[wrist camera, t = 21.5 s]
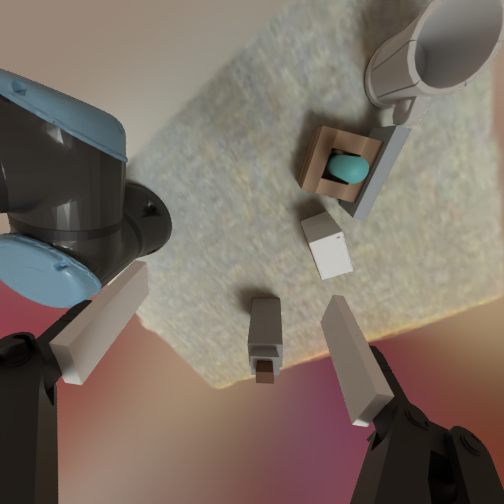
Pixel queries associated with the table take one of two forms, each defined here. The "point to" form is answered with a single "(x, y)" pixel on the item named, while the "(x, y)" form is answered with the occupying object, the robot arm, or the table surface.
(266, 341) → the perfume bottle
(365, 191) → the wall
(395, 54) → the cup
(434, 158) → the table surface
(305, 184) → the block
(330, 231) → the small box
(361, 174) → the dowel
